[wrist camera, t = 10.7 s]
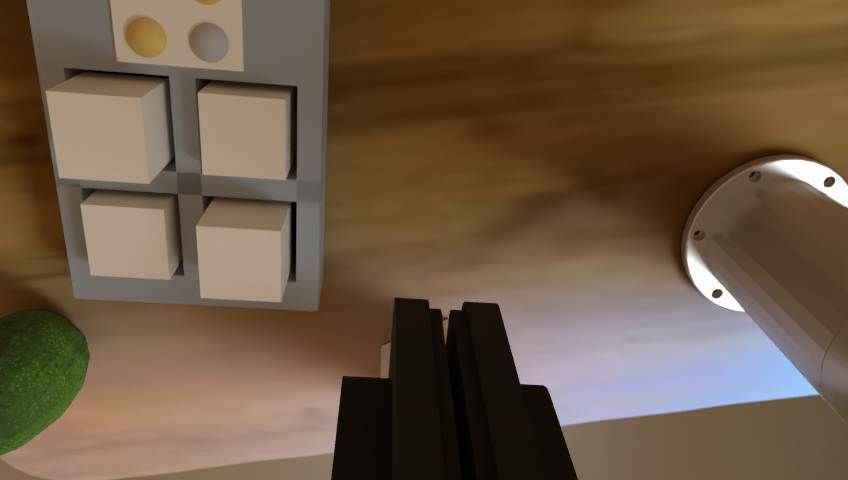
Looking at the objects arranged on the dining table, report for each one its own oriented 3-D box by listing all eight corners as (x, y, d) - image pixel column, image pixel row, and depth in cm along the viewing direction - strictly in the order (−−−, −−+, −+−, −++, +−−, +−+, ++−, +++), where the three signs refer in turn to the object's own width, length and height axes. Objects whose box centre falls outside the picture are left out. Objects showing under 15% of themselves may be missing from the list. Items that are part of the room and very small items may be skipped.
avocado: (108, 379, 53) (36, 496, 42) (4, 364, 52) (-97, 480, 41) (110, 295, 50) (32, 398, 39) (-1, 277, 49) (-113, 378, 38)
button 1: (168, 78, 41) (140, 98, 36) (174, 156, 43) (149, 183, 38) (84, 71, 40) (45, 90, 36) (94, 150, 42) (59, 177, 38)
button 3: (296, 80, 43) (285, 99, 38) (296, 154, 45) (285, 180, 41) (218, 74, 43) (197, 92, 38) (221, 149, 45) (202, 174, 40)
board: (331, -46, 40) (325, -43, 36) (322, 283, 50) (316, 314, 46) (49, -73, 39) (10, -72, 35) (97, 270, 49) (71, 301, 45)
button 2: (186, 181, 46) (163, 209, 41) (190, 245, 48) (169, 279, 43) (111, 176, 45) (80, 204, 41) (119, 241, 47) (90, 275, 43)
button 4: (291, 199, 44) (280, 231, 40) (291, 265, 46) (281, 302, 42) (215, 194, 44) (195, 225, 39) (219, 261, 46) (200, 298, 42)
